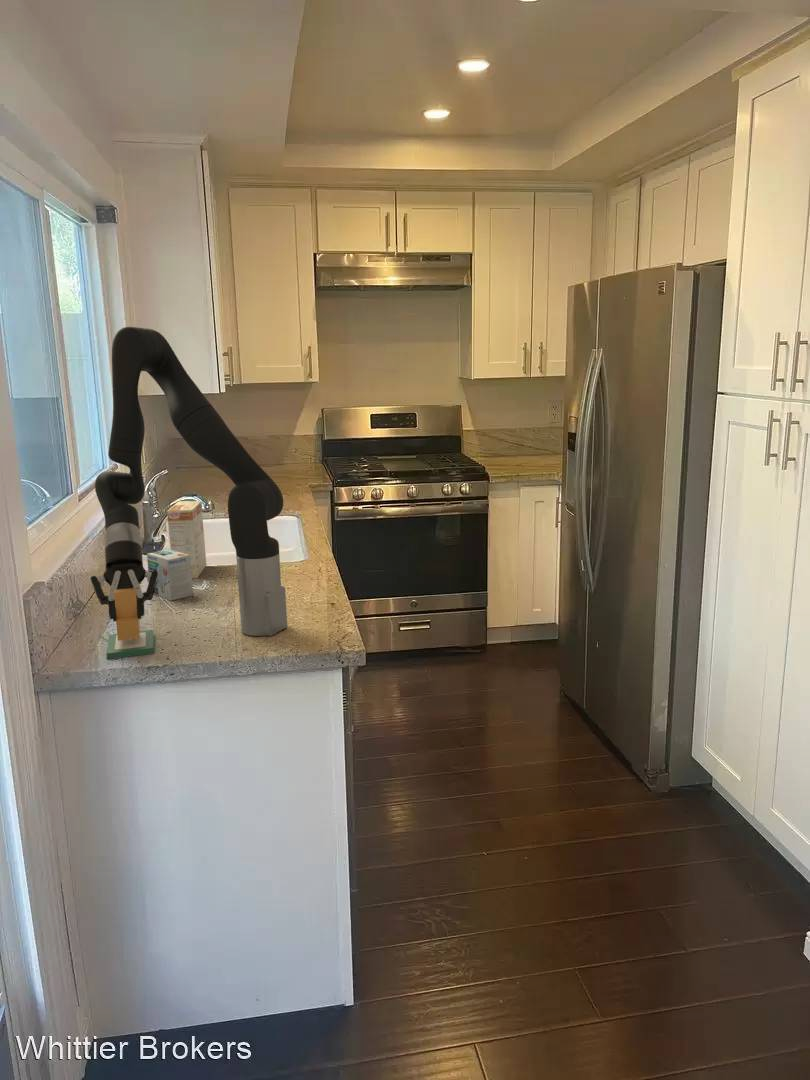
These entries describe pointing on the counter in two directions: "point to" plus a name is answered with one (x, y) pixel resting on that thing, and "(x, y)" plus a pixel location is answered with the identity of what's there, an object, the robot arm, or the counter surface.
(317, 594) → the counter surface
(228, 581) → the counter surface
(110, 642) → the board
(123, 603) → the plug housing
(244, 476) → the robot arm
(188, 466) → the counter surface
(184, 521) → the coffeecake box
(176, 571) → the light bulb box
